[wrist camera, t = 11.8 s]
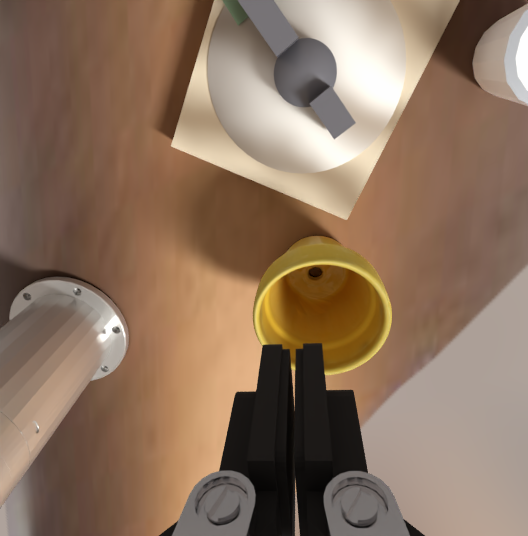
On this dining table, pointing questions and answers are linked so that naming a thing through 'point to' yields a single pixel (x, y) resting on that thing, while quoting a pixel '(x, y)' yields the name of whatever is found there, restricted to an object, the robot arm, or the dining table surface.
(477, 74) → the white cup
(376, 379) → the dining table surface
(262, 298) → the plant pot
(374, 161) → the tuner board
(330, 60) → the grey dial pointer
